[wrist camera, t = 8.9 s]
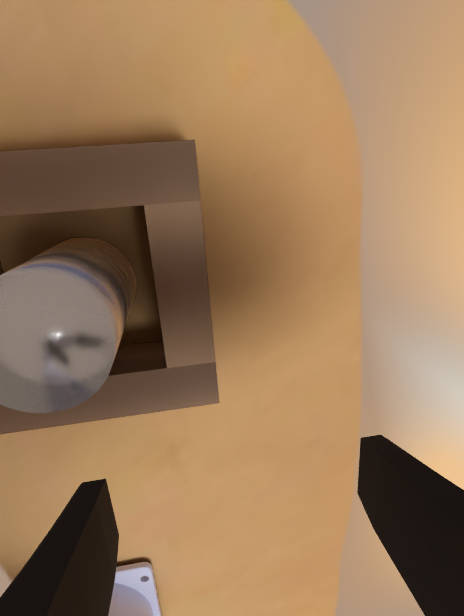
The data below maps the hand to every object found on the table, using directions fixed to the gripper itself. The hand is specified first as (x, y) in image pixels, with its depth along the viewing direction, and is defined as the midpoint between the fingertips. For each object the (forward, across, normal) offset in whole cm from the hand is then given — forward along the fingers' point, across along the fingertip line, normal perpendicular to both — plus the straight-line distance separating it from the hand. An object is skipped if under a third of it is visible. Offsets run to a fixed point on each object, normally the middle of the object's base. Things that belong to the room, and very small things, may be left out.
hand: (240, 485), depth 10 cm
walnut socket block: (+9, +6, -4) cm, 12 cm away
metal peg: (+9, +5, -4) cm, 12 cm away
